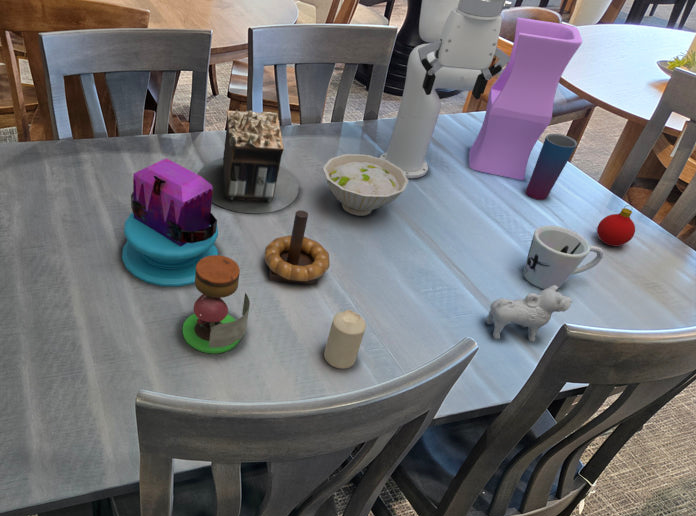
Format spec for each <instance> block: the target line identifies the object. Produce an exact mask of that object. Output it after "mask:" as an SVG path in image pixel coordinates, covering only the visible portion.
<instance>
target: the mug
mask: <svg viewBox="0 0 696 516" xmlns="http://www.w3.org/2000/svg"><path fill="white" fill-rule="evenodd" d="M590 252H595V253H596V256H595V257H594V258H593V259H592V260H591V261H590V262H588V263H585V264H583V265H581V266H580V264H581V263H582V262H583V261H584V260H585V258H586V257H587V256H589V254H590ZM603 258H604V250H603V249H602V248H601V247H599V246H596V245H590V243H589V241H588V240H587V239H586V238H585V237H584V236H583V235H581V234H579V233H578V232H575V231H573V230H571V229H569V228H566V227H562V226H558V225H557V226H556V225H543V226H539V227H537V229H535V230H534V233H533V235H532V239H531V243H530V245H529V250H528V253H527V256H526V261H525V264H524V267H523V273H522V274H523V277H524V278H525V280H526V281H527V282H528V283H530V284H531V285H532V286H535V287H537V288H538V289H539V288H540V289H543V290H545V289H547V288H549V287H551V286H553V285H556V286H557V287H558V289H560V288H561V287H562V286H563V285H564V284H565V282H567V281H568V279H569V278H570V277H571V276H572V275H573V276H574V275H577V274H581V273H583V272H586V271H589V270H591V269H592V268H594V267H596V266H597V265H598V264H600V262H601V261H602V260H603Z"/></svg>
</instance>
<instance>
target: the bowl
mask: <svg viewBox="0 0 696 516" xmlns="http://www.w3.org/2000/svg"><path fill="white" fill-rule="evenodd" d="M322 169H323V172H324V173H323V174H324V175H325V179H326V182H327V184H328V187H329V189H330V191H331V193H332V194H333V195H334V197H335V198H336V200H338V201H339V202H340V203H341V206H342V209H343V210H344V211H345V212H347V213H349V214H351V215H355V216H367V215H370V214H371V213H372V212H373V210H377V209H380V208H382V207H383V206H386V205H387V204H390V203H391V202H393V201H395V200H396V199H397V198H398V197H399V196H400V195H401V194H403V192H404V191H405V190H406V187H407V185H408V184H409V182H410V181H409V178H407V177H406V175H405V174H404V172H403V170H402V169H400V168H399V167H397V166H395V165H394V164H392V163H390V162H389V161H387V160H384V159H380V157H376V156H373V155H369V154H357V153H355V154H354V153H344V154H341V155H338V156H334V157H331V158H329V159H328V160H327V162H326V163H325V165H324V166H323V167H322Z"/></svg>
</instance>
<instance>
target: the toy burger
mask: <svg viewBox="0 0 696 516" xmlns="http://www.w3.org/2000/svg"><path fill="white" fill-rule="evenodd" d="M240 271H241V269H240V266H239V265H238V263H237V262H236V261H235V260H233V259H232V258H230V257H228V256H224V255H219V254H218V255H213V256H207V257H205V258H203V259H201V260H200V261H199V262H198V263H197V265H196V272H195V283H194V286H195V288H196V289H197V291H198V292H199V293H200V294H201V295H200V296H199V297H198V298H197V299H196V300H195V302H194V304H193V314H191V315H189V316H188V317H187V318H186V319H185V321H184V323H183V324H182V336H183V339H184V340H185V342H186V344H188V345H189V346H190V347H191V348H193V349H195V350H197V351H199V352H202V353H205V354H221V353H226V352H228V351H231V350H232V349H234V348H235V347H236V346H237V345H238V344H239V342H240V341H241V338H242V337H243V336H244V335H245V334H246V331H247V327H248V320H249V312H250V305H251V302H250V298H249V296H248V294H247V293H246V292H244V297H243V305H242V313H241V315H242V316H241V317H239V318H237V319H236V318H235V317H233V316H231V314H229V307H228V304H227V303H226V302H225V300H223V299H222V298H227V297H230V296H232V295H233V294H235V293H236V292H237V290H238V288H239V279H240Z"/></svg>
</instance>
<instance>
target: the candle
mask: <svg viewBox="0 0 696 516" xmlns="http://www.w3.org/2000/svg"><path fill="white" fill-rule="evenodd" d="M366 329H367V323H366V321H365V319H364V318H363V317H362V316H361V315H360V314H359V313H357V312H355V311H353V310H351V309H345V310H343V311H339V312H337V313H335V314H334V315H333V318H332V321H331V325H330V329H329V332H328V337H327V339H326V345H325V348H324V352H323V355H324V360H325V361H326V362H327V364H328V365H330V366H332V367H334V368H337V369H341V370H342V369H343V370H344V369H349V368H351V367H352V366H354V364H355V362H356V360H357V358H358V354H359V351H360V348H361V344H362V341H363V338H364V335H365V331H366Z"/></svg>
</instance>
